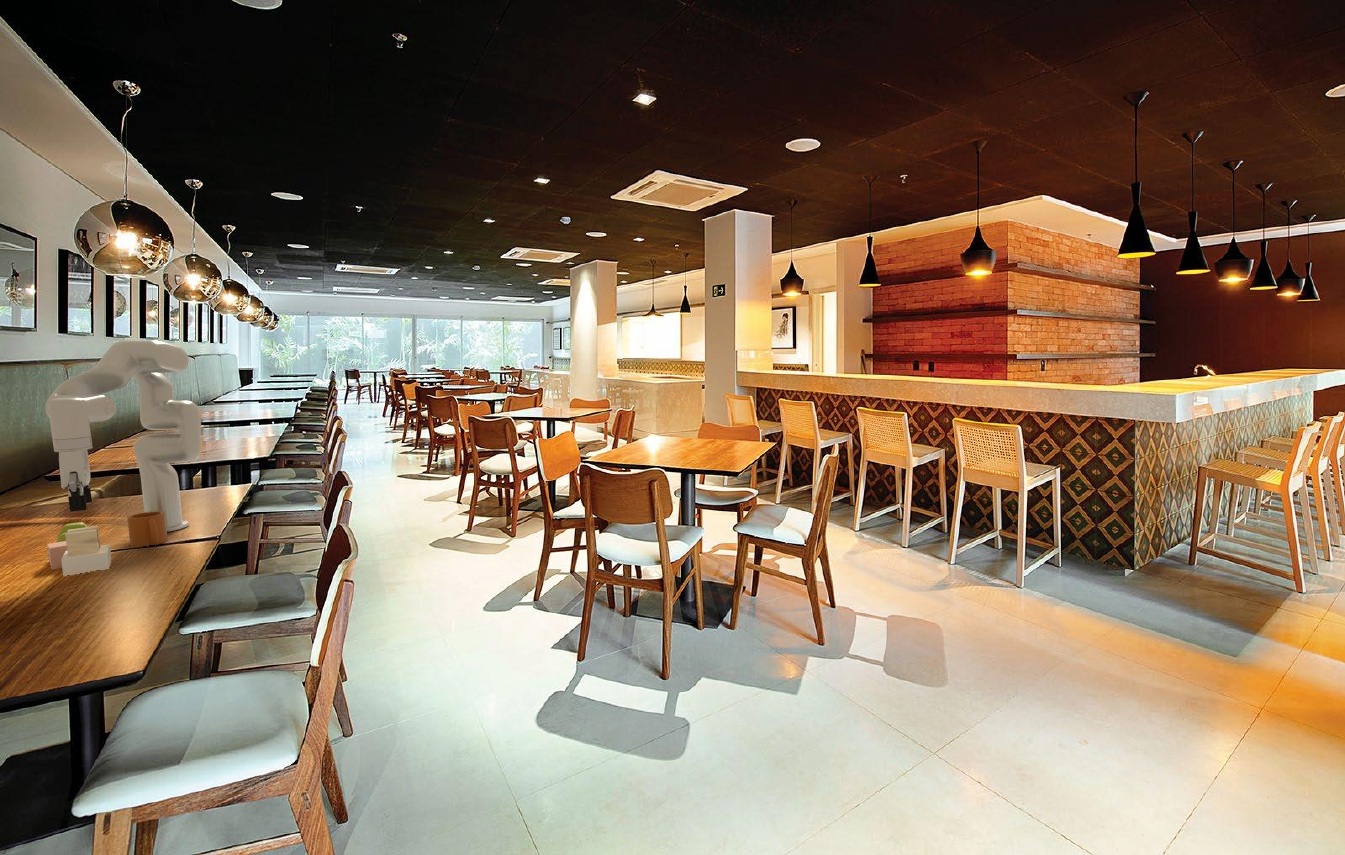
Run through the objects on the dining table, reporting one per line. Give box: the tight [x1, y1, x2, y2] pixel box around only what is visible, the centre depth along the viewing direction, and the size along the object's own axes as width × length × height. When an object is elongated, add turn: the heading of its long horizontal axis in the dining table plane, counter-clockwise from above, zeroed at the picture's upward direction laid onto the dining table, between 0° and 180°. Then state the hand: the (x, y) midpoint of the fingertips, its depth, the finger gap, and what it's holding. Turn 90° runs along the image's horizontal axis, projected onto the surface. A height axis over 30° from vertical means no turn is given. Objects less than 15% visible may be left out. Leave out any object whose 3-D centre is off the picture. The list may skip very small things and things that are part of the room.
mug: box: [126, 511, 168, 548], centre depth 194 cm, size 9×12×9 cm
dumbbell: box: [55, 522, 89, 543], centre depth 188 cm, size 16×8×7 cm, turn 40°
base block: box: [61, 544, 112, 577], centre depth 173 cm, size 9×9×5 cm
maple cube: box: [65, 525, 101, 557], centre depth 172 cm, size 6×6×6 cm
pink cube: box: [46, 541, 67, 570], centre depth 176 cm, size 6×6×6 cm
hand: (81, 506), depth 172 cm, fingers open, 9 cm apart
